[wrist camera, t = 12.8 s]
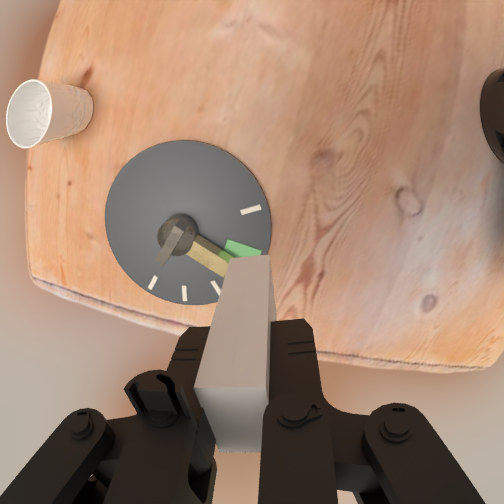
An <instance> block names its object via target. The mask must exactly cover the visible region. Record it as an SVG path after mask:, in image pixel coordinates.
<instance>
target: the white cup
mask: <svg viewBox="0 0 504 504" xmlns="http://www.w3.org/2000/svg"><path fill="white" fill-rule="evenodd" d="M93 109H94V108H93V101H92V97H91V96H90V94H89V93H88V91H87V90H85V89H83V88H80V87H76V86H72V85H68V84H63V83H58V82H50V81H43V80H34V79H33V80H28V81H26V82H24V83H22V84H21V85H20V86H19V87H18V88H17V89H16V90H15V92H14V93H13V95H12V97H11V99H10V101H9V104H8V108H7V113H6V125H7V130H8V134H9V136H10V138H11V140H12V141H13V142H14V143H15V144H16V145H17V146H19V147H21V148H31V147H34V146H37V145H41V144H44V143H48V142H52V141H55V140H58V139H62V138H65V137H67V136H71V135H75V134H78V133H79V132H81V131H82V130H84V129H85V128H86V127H87V125H88V124H89V122H90V120H91V118H92V113H93Z"/></svg>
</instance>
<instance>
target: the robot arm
mask: <svg viewBox="0 0 504 504" xmlns="http://www.w3.org/2000/svg"><path fill="white" fill-rule="evenodd" d="M480 110H481V120H482V125H483V130H484V133H485V136H486V139H487V141H488V143H489V145H490V147H491V149H492V151H493V152H494V154H495V155H496V156H497V157H498V158H499V160H501V161H502V162H503V163H504V69H499V70H496V71H494V72H493V73H492V74H491V75H490V76H489V77H488V78H487V80H486V82H485V84H484V87H483V90H482V95H481V103H480ZM124 390H125V392H126V394H127V396H128V398H129V399H130V401H131V403H132V405H133V406H134V408H135V410H136V412H137V414H136V415H134V416H130V417H125V418H118V419H111V420H106V419H105V418H104V416H103V415H102V414H101V413H100V412H99V411H97V410H95V409H90V408H85V409H79V410H77V411H75V412H72V413H71V414H70V415H68V416H67V417H66V418H65V419H64V420H63V421H62V422H61V424H60V425H59V426H58V427H57V428H56V429H55V431H54V432H53V433H52V434H51V436H50V437H49V438H48V439H47V440H46V441H45V443H44V444H43V445H42V446H41V447H40V448H39V450H38V451H37V452H36V453H35V454H34V456H33V457H32V458H31V459H30V460H29V462H28V463H27V464H26V465H25V467H24V468H23V469H22V470H21V471H20V473H19V474H18V475H17V476H16V477H15V479H14V480H13V481H12V482H11V484H10V485H9V486H8V487H7V489H6V490H5V491H4V492H3V494H2V495H1V496H0V504H212V499H213V491H214V485H215V479H216V472H217V466H216V462H215V459H214V457H213V455H214V450H215V444H216V445H217V447H218V449H219V452H261V461H260V462H261V463H260V478H259V494H258V504H338V498H337V490H343V491H351V492H353V494H354V496H355V498H356V501H357V502H358V504H485V502H484V501H483V499H482V498H481V496H480V495H479V493H478V492H477V490H476V489H475V487H474V486H473V484H472V483H471V481H470V480H469V478H468V477H467V476H466V474H465V473H464V471H463V470H462V468H461V467H460V465H459V464H458V462H457V461H456V460H455V458H454V457H453V455H452V454H451V452H450V451H449V450H448V448H447V447H446V445H445V444H444V443H443V441H442V440H441V438H440V437H439V436H438V434H437V433H436V431H435V430H434V429H433V427H432V426H431V424H430V423H429V422H428V420H427V419H426V418H425V416H424V415H423V414H422V413H421V412H420V411H419V410H418V409H416V408H415V407H412V406H410V405H407V404H403V403H402V404H401V403H391V404H387V405H382V406H381V407H379V408H377V409H376V410H374V411H373V412H372V413H371V414H370V416H369V415H359V414H350V413H347V412H342V411H340V410H337V409H336V408H334V407H333V406H331V405H330V404H329V403H328V402H327V401H326V399H325V398H324V396H323V393H322V388H321V381H320V374H319V368H318V360H317V354H316V348H315V342H314V335H313V329H312V327H311V326H310V325H309V324H308V323H307V322H306V321H305V319H294V320H283V321H276V307H275V298H274V289H273V280H272V271H271V263H270V254H269V255H259V256H248V257H238V258H230V261H229V265H228V268H227V271H226V275H225V278H224V282H223V285H222V289H221V292H220V296H219V299H218V303H217V306H216V310H215V313H214V317H213V320H212V324H211V326H209V327H189V328H188V329H187V330H186V331H185V332H184V333H183V334H182V335H181V337H180V338H179V340H178V343H177V345H176V348H175V351H174V353H173V355H172V358H171V361H170V363H169V366H168V368H167V371H164V370H153V371H147V372H144V373H142V374H139V375H137V376H136V377H134V378H133V379H132V380H130V381H129V382H128V384H127V385H126V386H125V388H124ZM92 474H93V475H92ZM91 475H92V476H91ZM90 476H91V477H90Z"/></svg>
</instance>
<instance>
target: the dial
mask: <svg viewBox="0 0 504 504" xmlns="http://www.w3.org/2000/svg"><path fill="white" fill-rule="evenodd" d="M174 214H186V215H188V216H190V217H191V218H192V219H193V220H194V221H195V222H196V224H197V226H198V235H200V236H201V237H203V238H204V239H206V240H208V241H209V242H211V243H212V244H214V245H215V246H217V247H219V248H220V249H222V250H223V251H225V252H227V253H228V254H230V255H231V256H233V257H234V258H238V257H248V256H259V255H267V252H268V249H269V244H270V237H271V219H270V211H269V207H268V203H267V200H266V197H265V195H264V193H263V190H262V188H261V186H260V185H259V183H258V181H257V180H256V178H255V177H254V176H253V174H252V173H251V172H250V171H249V169H248V168H247V167H246V166H245V165H244V164H242V163H241V162H240V161H239V160H238V159H237V158H235V157H234V156H232V155H231V154H230V153H228V152H226V151H224V150H222V149H220V148H218V147H216V146H213V145H210V144H207V143H203V142H198V141H188V140H180V141H171V142H166V143H162V144H158V145H155V146H153V147H150V148H148V149H146V150H144V151H142V152H141V153H139V154H137V155H136V156H135V157H133V158H132V159H131V160H130V161H129V162H128V163H127V164H126V165H125V166H124V167H123V168H122V169H121V171H120V172H119V173H118V175H117V176H116V178H115V180H114V182H113V184H112V186H111V188H110V191H109V194H108V197H107V202H106V208H105V227H106V233H107V237H108V241H109V244H110V247H111V249H112V252H113V254H114V256H115V258H116V259H117V261H118V263H119V264H120V266H121V267H122V269H123V270H124V271H125V273H126V274H127V275H128V276H129V277H130V278H131V279H132V280H133V281H134V282H135V283H137V284H138V285H139V286H140V287H142V288H143V289H144V290H146V291H147V292H149V293H151V294H153V295H155V296H156V297H159V298H161V299H164V300H166V301H170V302H173V303H178V304H184V305H204V304H210V303H215V302H218V299H219V296H220V292H221V289H222V285H223V282H224V278H223V277H222V276H220V275H218V274H217V273H215V272H214V271H212V270H210V269H209V268H207V267H205V266H204V265H202V264H201V263H199V262H197V261H196V260H194V259H193V258H191V257H189V256H188V255H186V254H185V255H182V256H172V255H171V256H170V258H169V259H168V261H167V262H166V264H165V265H164V266H162V265H161V264H159V263H158V262H156V261H155V259H156V258H157V256H158V254H159V252H160V250H161V249H162V248H161V247H160V245H159V243H158V240H157V233H158V230H159V228H160V227H161V226H162V224H163V223H164V222H165V221H166V220H167V219H168V218H170V217H171V216H172V215H174Z"/></svg>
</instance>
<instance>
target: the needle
mask: <svg viewBox="0 0 504 504" xmlns="http://www.w3.org/2000/svg"><path fill="white" fill-rule="evenodd" d="M157 240H158V243H159V245H160V247H161V248H162V249H161V250H160V252H159V254H158V256H157V258H156V259H155V261H156V262H158V263H159V264H161V265H162V266H164V265H165V264H166V262H167V261H168V259H169V258H170V256H171V255H172V256H182V255H185V254H186V255H188V256H189V257H191V258H193V259H194V260H196V261H197V262H199V263H201V264H202V265H204V266H205V267H207V268H209V269H210V270H212V271H214V272H215V273H217V274H218V275H220V276H222V277H223V278H225V275H226V271H227V268H228V265H229V261H230V258H234V257H233V256H231V255H230V254H228V253H227V252H225V251H223V250H222V249H220V248H219V247H217V246H215V245H214V244H212V243H211V242H209V241H208V240H206V239H204V238H203V237H201V236H200V235H198V226H197V224H196V222H195V221H194V220H193V219H192V218H191V217H190V216H188V215H186V214H174V215H172V216H171V217H170V218H168V219H167V220H166V221H165V222H164V223H163V224H162V226H161V227H160V228H159V230H158V233H157Z"/></svg>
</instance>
